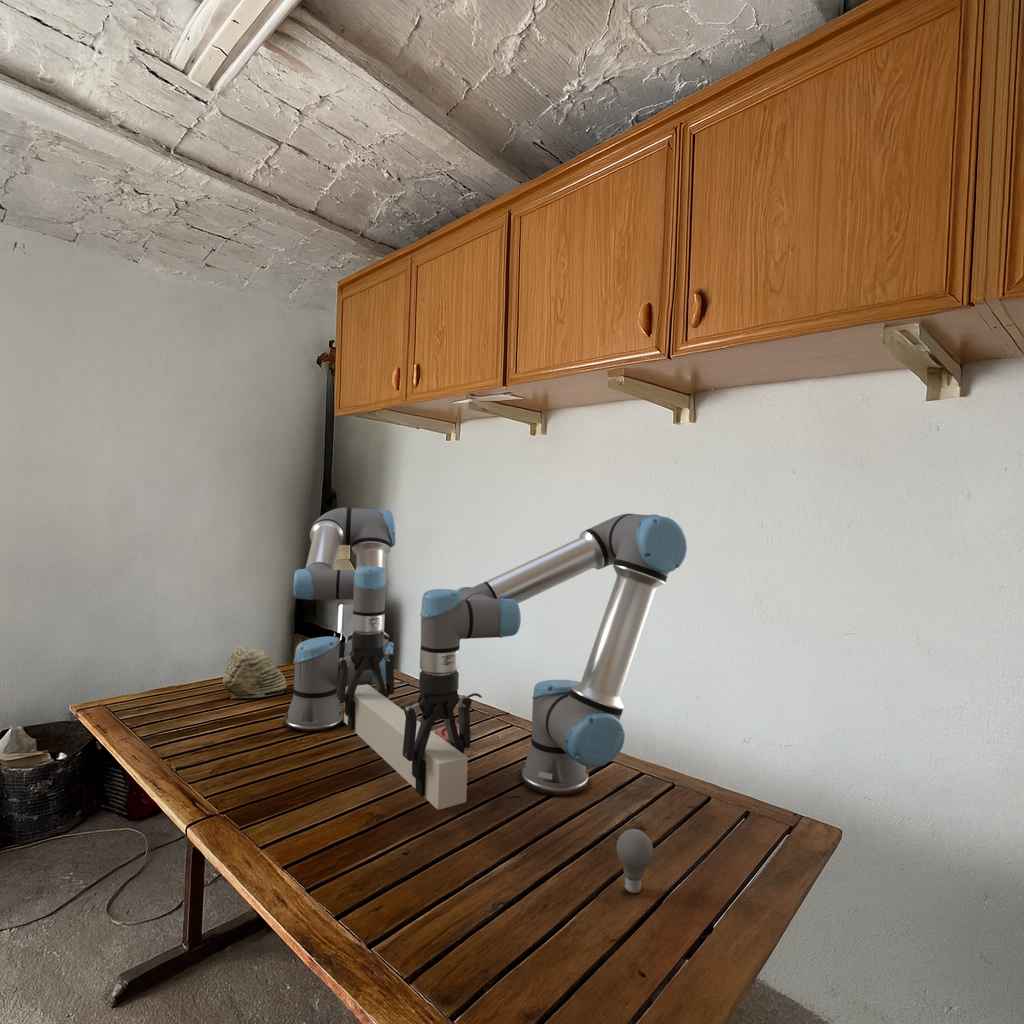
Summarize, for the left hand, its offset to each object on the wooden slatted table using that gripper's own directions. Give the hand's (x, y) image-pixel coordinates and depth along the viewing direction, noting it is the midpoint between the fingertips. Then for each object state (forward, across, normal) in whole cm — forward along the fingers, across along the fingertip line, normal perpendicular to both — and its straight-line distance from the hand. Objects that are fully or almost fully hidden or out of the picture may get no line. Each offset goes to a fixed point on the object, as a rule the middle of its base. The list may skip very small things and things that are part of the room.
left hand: (364, 725), depth 153 cm
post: (+1, +1, -19) cm, 19 cm away
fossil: (+9, -14, +62) cm, 64 cm away
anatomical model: (+8, +20, +2) cm, 21 cm away
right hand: (0, +2, -37) cm, 37 cm away
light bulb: (+8, +22, -70) cm, 74 cm away
